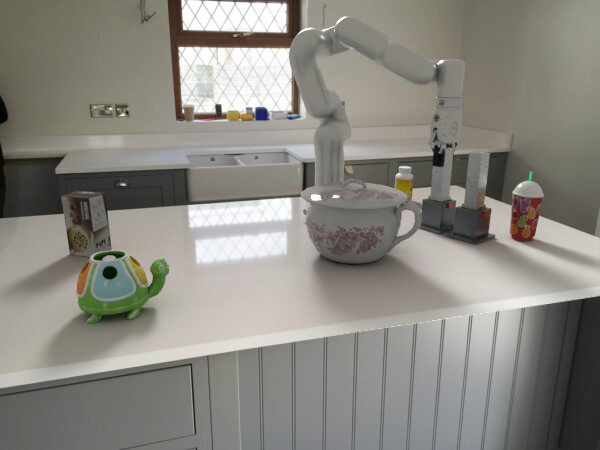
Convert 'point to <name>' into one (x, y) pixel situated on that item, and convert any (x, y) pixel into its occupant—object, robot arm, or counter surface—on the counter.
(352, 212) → the chamber pot
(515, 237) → the smoothie
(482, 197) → the twin stand
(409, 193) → the supplement bottle
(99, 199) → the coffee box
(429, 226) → the stand sleeve
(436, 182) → the column
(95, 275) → the turtle holder
